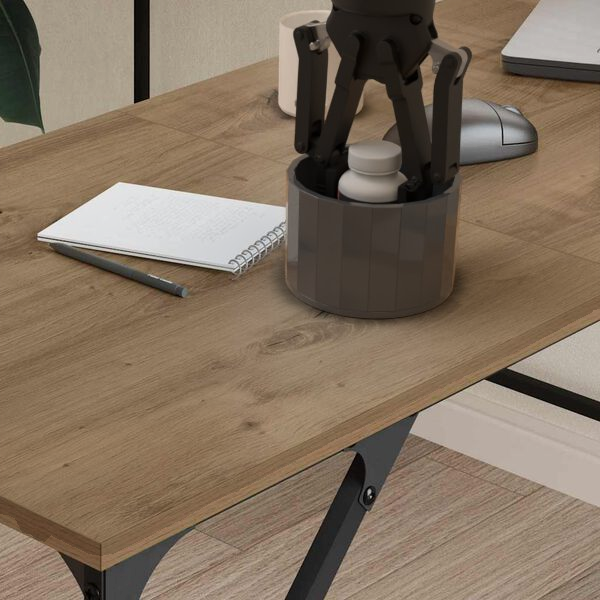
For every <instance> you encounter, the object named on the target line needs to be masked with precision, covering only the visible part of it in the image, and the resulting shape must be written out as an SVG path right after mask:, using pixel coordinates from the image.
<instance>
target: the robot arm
mask: <svg viewBox="0 0 600 600" xmlns="http://www.w3.org/2000/svg"><path fill="white" fill-rule="evenodd" d="M330 1H331V4H332V6H331V7H332V8H331V9H330V11H331V13H330V15H329V16H328V18H327V21H325V22H319V21H317V20H314V21H311V22H309V23H306V24H304V25H302V26H300V27H297V28H295V29H294V31H293V38H294V42H295V46H296V50H297V54H298V58H299V62H298V81H297V100H296V117H295V120H294V121H295V122H294V140H293V147H294V150H295V152H297V153H298V154H299V155H303V154H307V155H308V156H310V157H312V158H313V159H314V160H315V162H316V165H317V185H316V188H317V189H316V193H318V194H320V195H322V196H326V197H330V198H334V199H338V186H339V180H340V178H341V176H342V175H343V174H344V173H345V172H346V171H348V170H350V168H349V165H348V164H349V163H348V160H345V159H343V160H341V161H340V157H341V156H343V155H344V154H346V153H347V150H346V151H344V150H345V146H346V144H347V142H348V139H349V136H350V133H351V129H352V127H353V125H354V124H353V123H354V120H355V116H356V115H357V114H356V111H357V108H358V105H359V102H360V98H361V95H362V92H363V89H364V90H365V86H366V83H367V82H368V81H370V80H374V81H375V82H378V83H379V84H381V85H384V87H385V91H386V96H387V98H388V100H391V103H392V107H393V108H392V109H393V113H394V119H395V124H396V128H397V134H398V138H399V144H400V146H401V149H402V154H403V159H404V164H405V169H406V174H407V179H408V180H407V181H405V182H404V183H402V184H401V185H399V186H398V192H397V204H403V203H410V202H416V201H423V200H426V199H429V198H432V194H433V185H442V184H444V183H445V182H447V181H448V180H449V179H451V178H452V177H454V176H455V175H456V174H457V173H458V172H460V163H461V161H460V160H461V143H462V142H461V140H462V120H463V119H462V116H463V95H464V94H463V93H464V79H465V76H466V73H467V71H468V69H469V66H470V64H471V61H472V58H473V53H472V51H471V48H469V47H468V46H466V45H464V46H460V47H455V46H453V45H451V44H450V43H447V42H445V41H444V40H442V39H440V38H439V33H438V30H437V27H436V25H435V22H434V21H435V20H434V14H435V13H434V12H435V7H436V1H437V0H330ZM331 41H332V43H333V44H334V46H335V48H336V50H337V52H338V54H339V55H340V57H341V61H340V64H339V68H338V71H337V74H336V77H335V81H334V82H335V84H336V87H335V90H334V93H333V97H332V100H331V103H330V107H329V110H328V113H327V116H326V120H325V105H326V89H327V73H328V48H329V46H330V43H331ZM428 56H430V57H431V60H432V65H431V71H432V73H433V74H435V75H436V76H435V79H434V83H433V91H432V113H431V115H432V116H431V117H432V118H431V135H430V129H429V124H428V119H427V113H426V107H425V102H424V97H423V91H422V90H423V86H424V79H423V75H422V68H421V65H422V64H423V63H424V61H425V60H426V59H427V58H428ZM355 114H356V115H355ZM324 120H325V121H324Z"/></svg>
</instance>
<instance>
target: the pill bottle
mask: <svg viewBox="0 0 600 600" xmlns="http://www.w3.org/2000/svg"><path fill="white" fill-rule="evenodd" d="M399 146H400V145H398V144H396V143H394V142H392V141H388V140H383V139H363V140H359V141H355V142H353V144H352V145H350V147H349V155H348V163H349V164H348V165H349V168H350V170H348V171H346V172H345V173H344V174H343V175H342V176H341V178H340V180H339V186H338V200H342V201H346V202H355V203H364V204H373V205H376V204H397V192H398V186H399V185H401V184H402V183H404V182H405V181H407V178H406V177H405V176H404V175H403V174H402V173H401V172H399V170H400V168H401V164H402V151H401V148H400V147H399Z"/></svg>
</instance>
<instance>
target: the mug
mask: <svg viewBox="0 0 600 600" xmlns="http://www.w3.org/2000/svg"><path fill="white" fill-rule="evenodd" d="M330 13H331V9H330V10H328V9H309V10H298V11H294V12H290V13H287V14H284V15H282V16H281V17H280V18H279V28H278V29H279V30H278V31H279V32H278V33H279V34H278V35H279V36H278V37H279V38H278V95H277V96H278V98H277V99H278V100H277V102H278V106H279V108H280V109H281V111H282V112H283V113H284V114H286V115H288V116H291V117H294V118H296V100H297V81H298V62H299V58H298V54H297V50H296V46H295V42H294V38H293V31H294V29H295V28H297V27H300V26H302V25H304V24H306V23H309V22H311V21H314V20H317V21H319V22H325V21H327V18H328V16H329V15H330ZM340 61H341V57H340V55H339V54H338V52H337V50H336V48H335V46H334V44H333V43H332V41H331V43H330V46H329V48H328V73H327V89H326V105H325V120H326V116H327V113H328V110H329V107H330V103H331V100H332V97H333V93H334V90H335V87H336V84H335V82H334V81H335V77H336V74H337V71H338V68H339V64H340ZM364 91H365V88H364V89H363V92H362V95H361V98H360V102H359V105H358V108H357V111H356V114H355V116H356V115H358V114H359V113H360V112H361V110H362V109H363V106H364V93H365V92H364ZM325 120H324V122H325Z"/></svg>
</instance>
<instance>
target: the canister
mask: <svg viewBox="0 0 600 600" xmlns="http://www.w3.org/2000/svg"><path fill="white" fill-rule="evenodd" d="M353 143H354V142H353ZM353 143H346V146H345V150H344V151H346V150H347V153H346V154H344V155H343V156H341V157H340V161H341V160H343V159H345V160H348V155H349V147H350V145H352V144H353ZM398 146H399V147H400V148H401V145H398ZM401 151H402V149H401ZM399 172H401V173H402V174H403V175H404V176H405V177H406V178H407V174H406V169H405V164H404V159H403V154H402V164H401V168H400V170H399ZM407 180H408V179H407ZM463 180H464V178H463V175H462V174H461V171H459V172H458V173H457V174H456V175H455V176H454V177H452V178H451V179H449V180H448V181H447V182H445V183H444V184H442V185H433V194H432V198H429V199H426V200H423V201H416V202H410V203H403V204H376V205H373V204H364V203H355V202H346V201H342V200H338V199H334V198H330V197H326V196H322V195H320V194H318V193H316V189H317V188H316V185H317V165H316V162H315V160H314V159H313V158H312V157H310V156H308V155H307V154H300V156H297V157H295V158H294V159H293V160H292V161H291V162H290V164H289V165H288V167H287V168H286V177H285V230H284V272H285V274H284V275H285V276H284V277H285V284H286V286H287V288H288V290H289V291H290V293H292V295H293V296H295V298H297V299H298V300H300V301H301V302H303V303H305V304H307V305H308V306H309V307H312V308H315V309H317V310H320V311H324V312H326V313H330V314H334V315H338V316H342V317H343V316H344V317H348V318H349V317H350V318H357V319H370V320H371V319H378V320H379V319H380V320H381V319H395V318H396V319H397V318H405V317H409V316H414V315H418V314H421V313H425V312H427V311H429V310H432V309H435V308H436V307H438V306H440V305H441V304H443V303H444V302H445V301H446V300H447V299H448V298H449V297H450V295H451V294H452V292H453V290H454V281H455V278H456V266H457V255H458V254H457V253H458V241H459V231H460V218H461V204H462V193H463Z"/></svg>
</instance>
